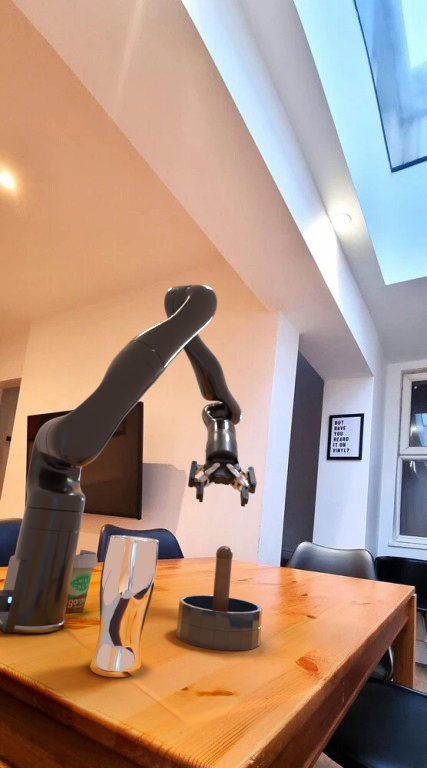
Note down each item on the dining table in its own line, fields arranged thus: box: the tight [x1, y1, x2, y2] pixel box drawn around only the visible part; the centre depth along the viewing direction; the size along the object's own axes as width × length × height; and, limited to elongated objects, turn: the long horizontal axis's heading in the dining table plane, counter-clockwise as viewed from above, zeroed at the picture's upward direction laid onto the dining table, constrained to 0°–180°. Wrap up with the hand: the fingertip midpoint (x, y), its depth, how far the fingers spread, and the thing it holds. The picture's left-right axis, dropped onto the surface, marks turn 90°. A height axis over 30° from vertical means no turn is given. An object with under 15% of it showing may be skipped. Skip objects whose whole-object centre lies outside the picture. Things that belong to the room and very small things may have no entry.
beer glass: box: [89, 534, 160, 678], centre depth 54 cm, size 7×7×15 cm
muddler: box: [212, 545, 234, 612], centre depth 69 cm, size 4×4×14 cm
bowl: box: [175, 594, 263, 652], centre depth 67 cm, size 13×13×6 cm
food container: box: [65, 549, 99, 615], centre depth 76 cm, size 12×6×10 cm, turn 167°
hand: (222, 501), depth 84 cm, fingers open, 8 cm apart
